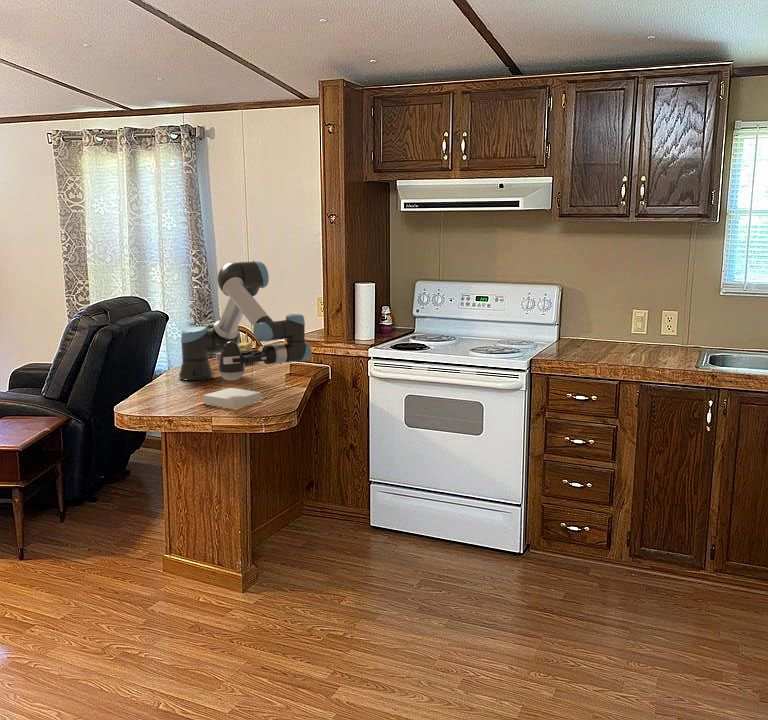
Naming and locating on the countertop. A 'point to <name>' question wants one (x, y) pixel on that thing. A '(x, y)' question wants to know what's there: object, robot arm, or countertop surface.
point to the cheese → (245, 347)
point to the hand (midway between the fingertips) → (219, 358)
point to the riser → (231, 398)
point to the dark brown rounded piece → (230, 370)
